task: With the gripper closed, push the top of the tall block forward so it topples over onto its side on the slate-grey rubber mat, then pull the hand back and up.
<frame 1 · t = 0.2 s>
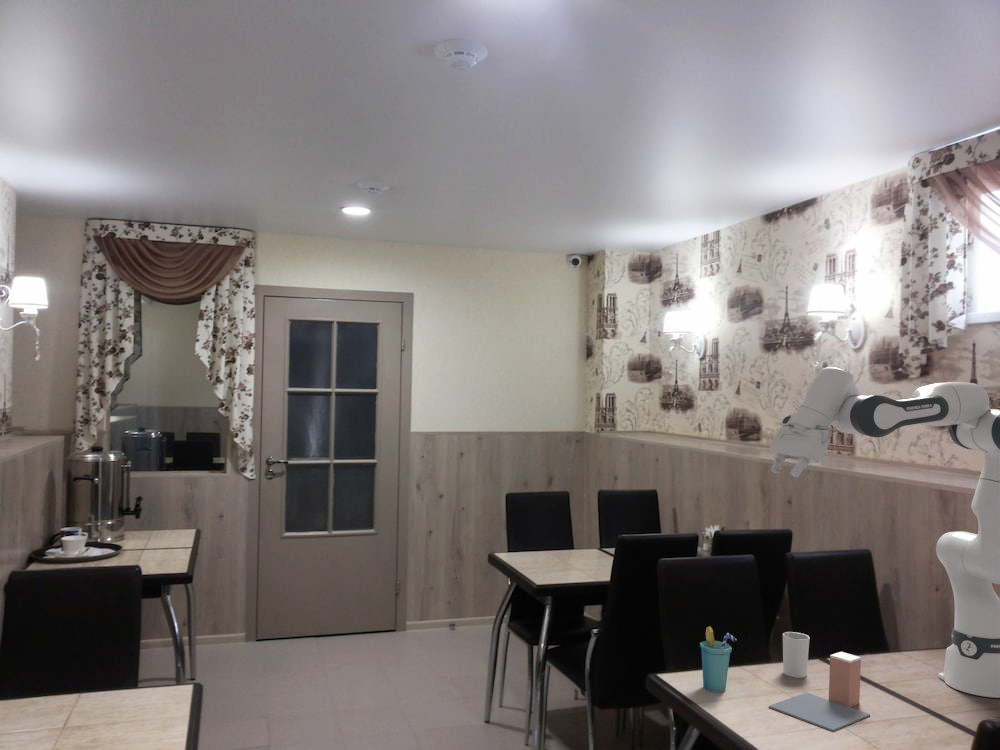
hand: (783, 474, 201), 54 cm above the table, tool tilted 30°, fingers open, 8 cm apart
drinking glass: (794, 674, 215), on the table
block: (843, 702, 196), on the table
mat: (819, 711, 189), on the table
cup: (716, 690, 201), on the table
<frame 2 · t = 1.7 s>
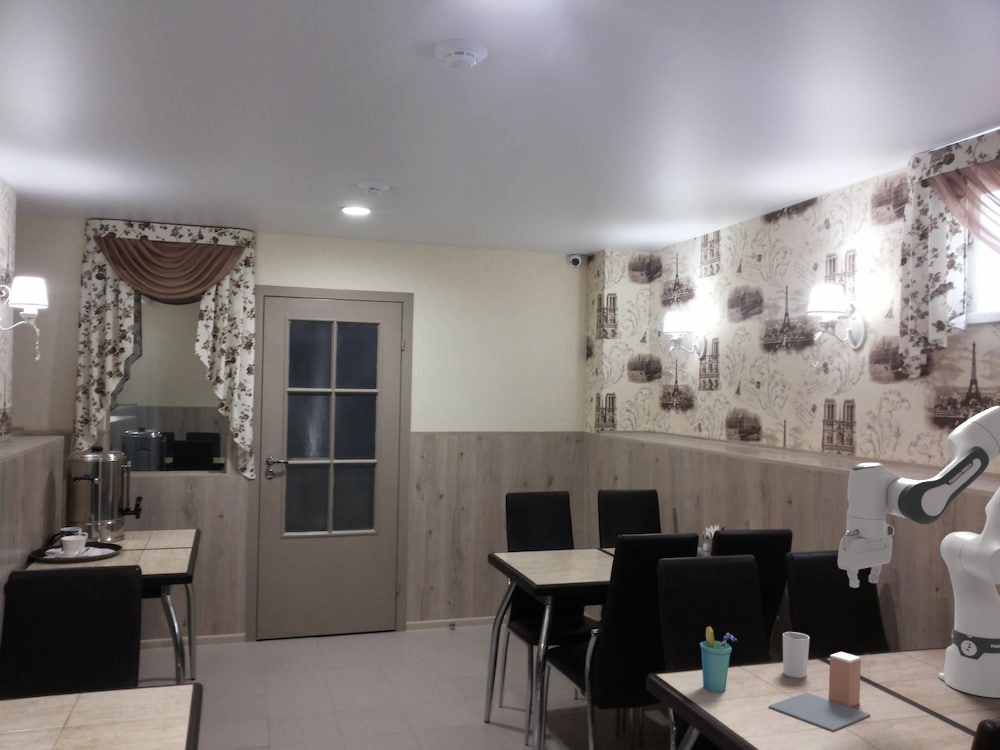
hand: (864, 584, 201), 27 cm above the table, tool pointing down, fingers open, 8 cm apart
nothing on the table moved.
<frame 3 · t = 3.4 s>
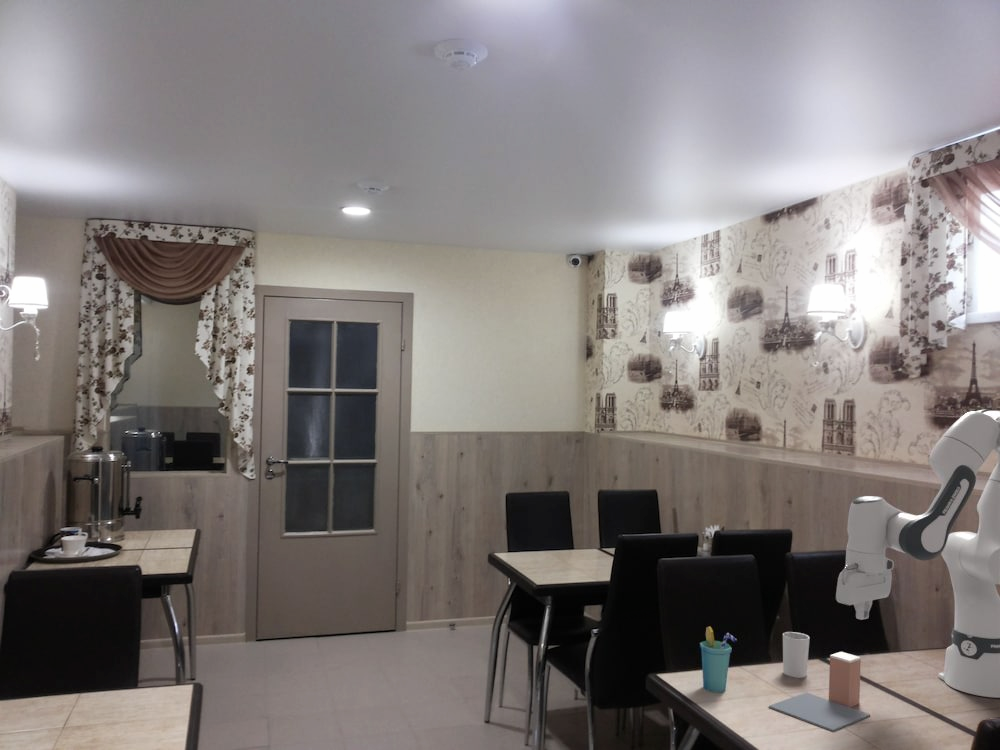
hand: (862, 618, 201), 19 cm above the table, tool pointing down, fingers closed
nothing on the table moved.
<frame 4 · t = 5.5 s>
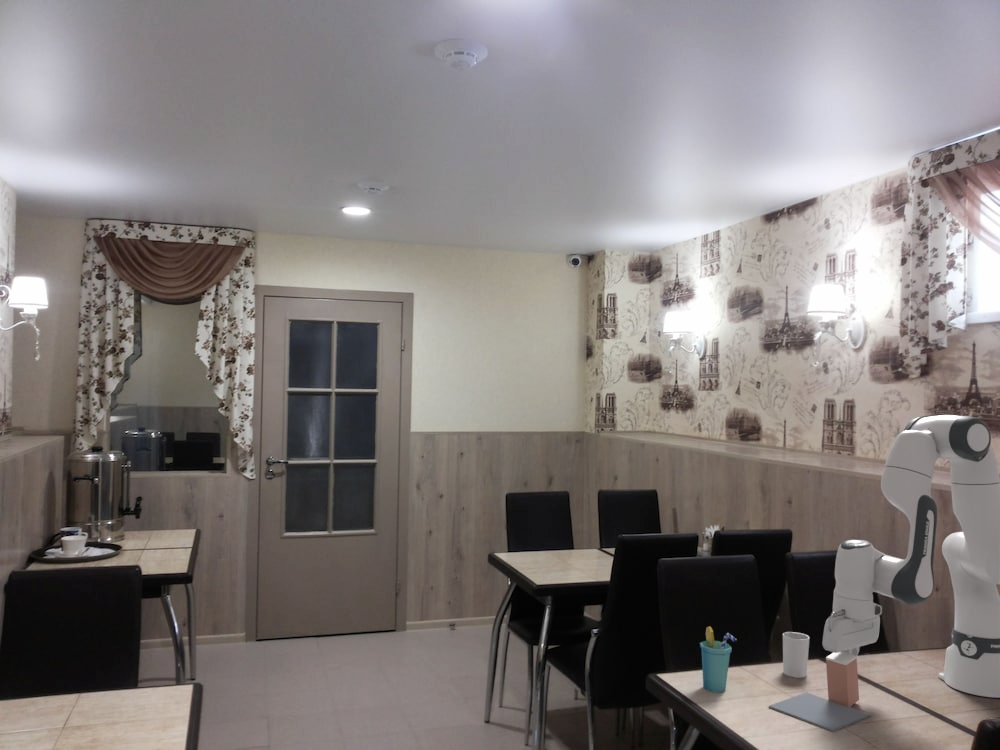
hand: (849, 665, 198), 8 cm above the table, tool pointing down, fingers closed
block: (843, 700, 196), on the table, tilted 10°, touching gripper
everything else where it was.
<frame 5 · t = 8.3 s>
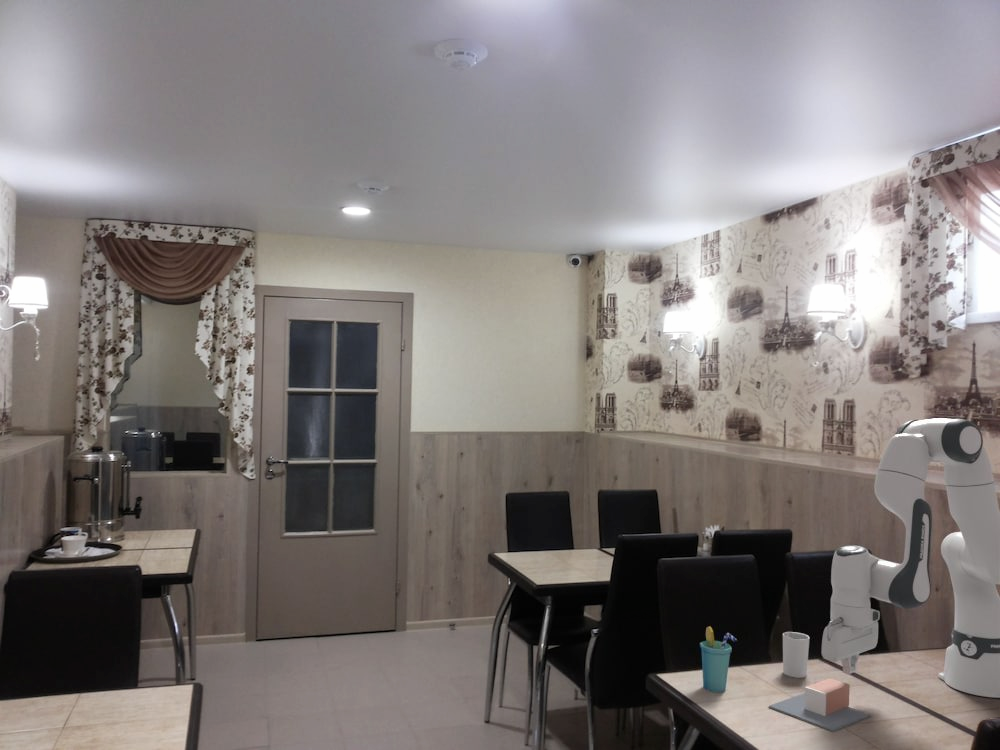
hand: (849, 672, 196), 7 cm above the table, tool pointing down, fingers closed
block: (839, 691, 194), point 3 cm above the table, tilted 90°, touching mat
everything else where it was.
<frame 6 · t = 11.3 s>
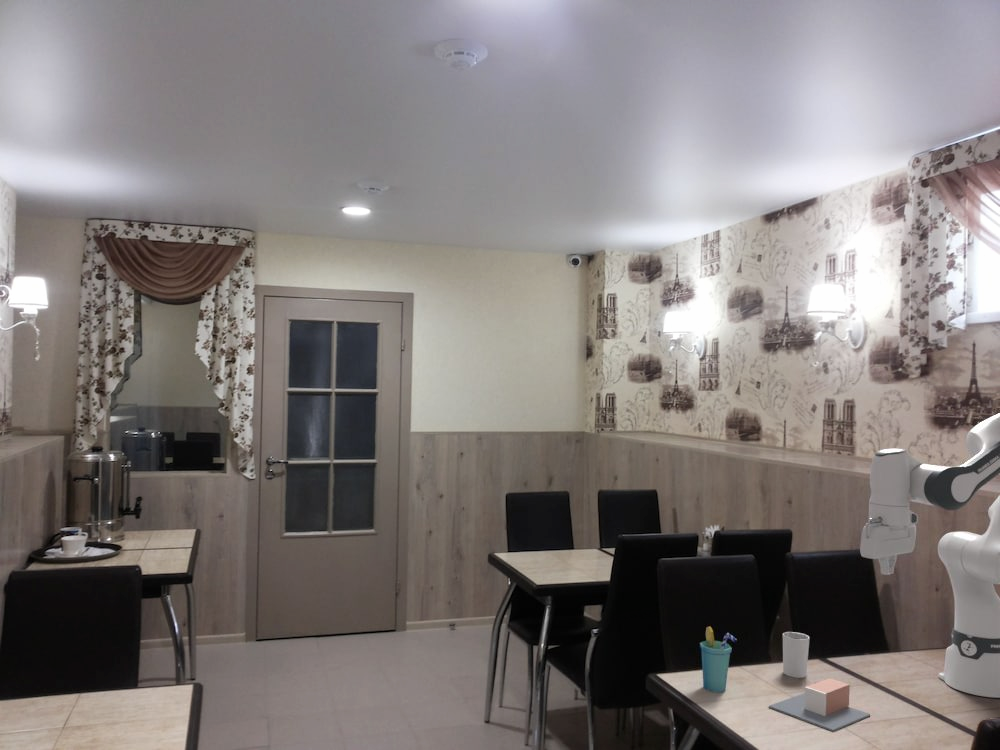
hand: (887, 573, 196), 31 cm above the table, tool pointing down, fingers closed
nothing on the table moved.
at the end: block tilted 90°; block inside the target area (2.6 cm from its centre), point 2.9 cm above the table; block touching mat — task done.
